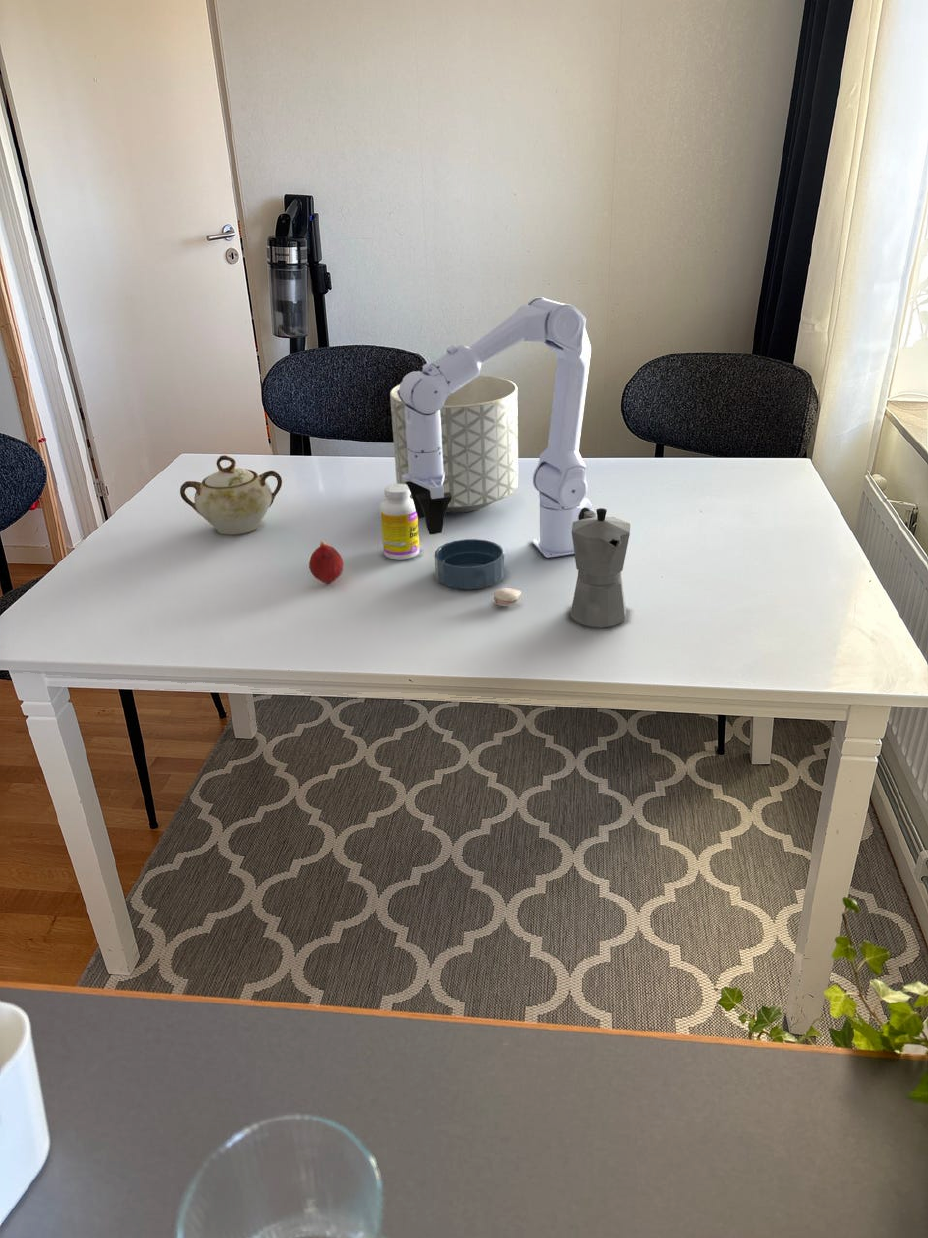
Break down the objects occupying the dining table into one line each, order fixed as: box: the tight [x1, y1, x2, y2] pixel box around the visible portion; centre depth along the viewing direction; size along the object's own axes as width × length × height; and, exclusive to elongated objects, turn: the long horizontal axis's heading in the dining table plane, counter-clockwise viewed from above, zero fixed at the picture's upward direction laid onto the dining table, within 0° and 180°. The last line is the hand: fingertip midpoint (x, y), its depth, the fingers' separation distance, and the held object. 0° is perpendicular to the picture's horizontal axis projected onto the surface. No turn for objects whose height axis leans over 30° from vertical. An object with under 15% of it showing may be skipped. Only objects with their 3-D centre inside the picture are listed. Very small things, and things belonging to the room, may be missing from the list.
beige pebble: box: [493, 587, 522, 607], centre depth 155 cm, size 4×5×2 cm
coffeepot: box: [570, 507, 631, 628], centre depth 147 cm, size 15×9×18 cm, turn 13°
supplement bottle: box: [379, 483, 420, 561], centre depth 172 cm, size 7×7×13 cm
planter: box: [389, 374, 519, 514], centre depth 191 cm, size 25×25×24 cm
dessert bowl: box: [434, 538, 506, 590], centre depth 164 cm, size 12×12×4 cm
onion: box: [308, 540, 344, 585], centre depth 162 cm, size 6×6×8 cm
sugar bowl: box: [179, 454, 283, 536], centre depth 186 cm, size 20×15×15 cm
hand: (429, 524), depth 161 cm, fingers open, 7 cm apart
